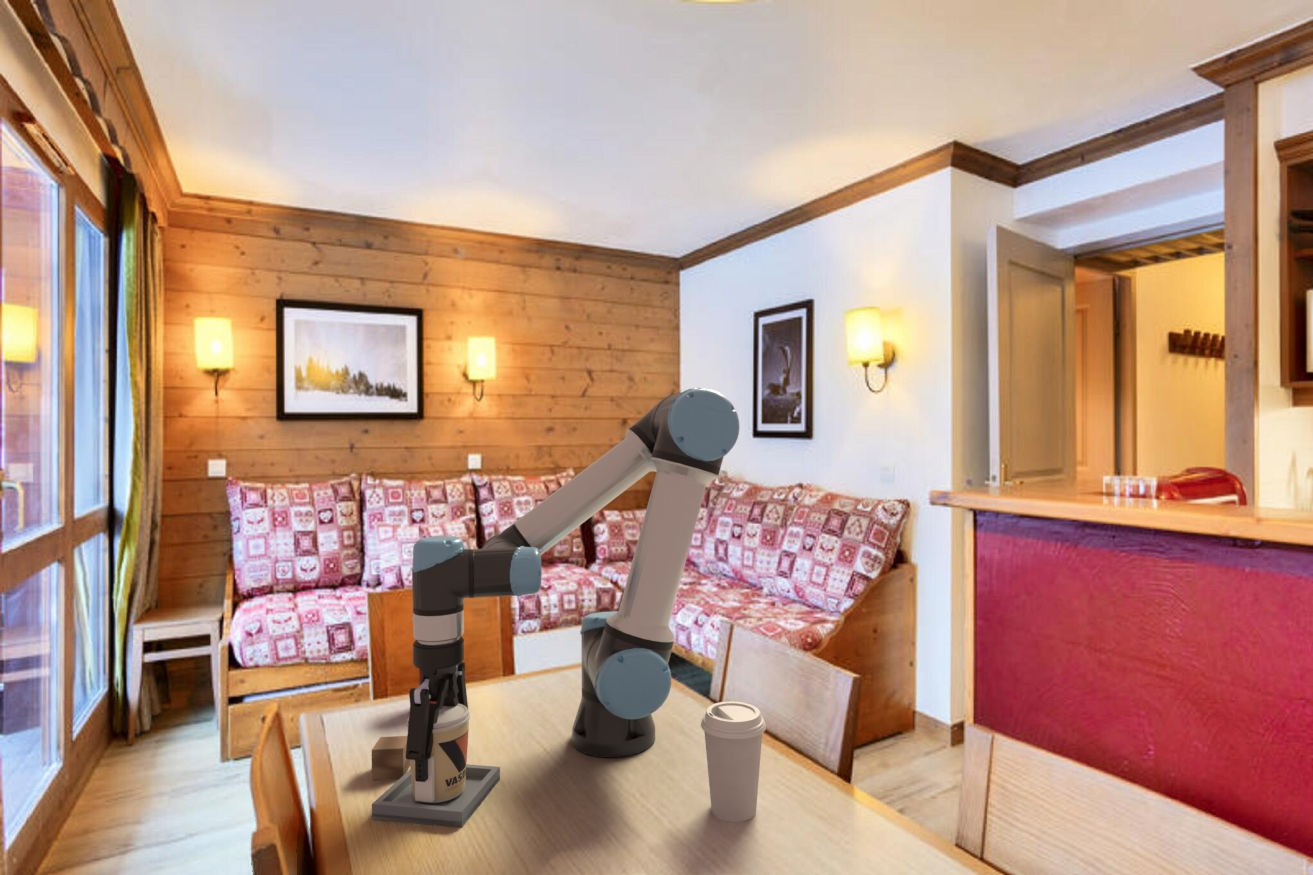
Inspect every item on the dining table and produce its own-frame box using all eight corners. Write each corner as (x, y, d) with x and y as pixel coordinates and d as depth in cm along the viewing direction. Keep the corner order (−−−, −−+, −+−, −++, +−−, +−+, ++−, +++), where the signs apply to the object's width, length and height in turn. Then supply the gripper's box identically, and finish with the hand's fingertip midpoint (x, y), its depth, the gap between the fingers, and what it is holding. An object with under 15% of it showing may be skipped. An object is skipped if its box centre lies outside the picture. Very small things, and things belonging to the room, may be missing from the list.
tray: (499, 780, 115) (499, 766, 115) (462, 827, 101) (461, 811, 101) (419, 773, 117) (419, 760, 117) (371, 818, 103) (371, 803, 103)
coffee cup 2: (700, 796, 109) (699, 699, 109) (762, 796, 109) (761, 699, 109) (702, 830, 100) (701, 724, 100) (770, 831, 99) (769, 724, 99)
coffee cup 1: (452, 809, 103) (451, 727, 103) (394, 803, 105) (393, 722, 105) (480, 778, 113) (480, 703, 113) (427, 773, 114) (426, 699, 114)
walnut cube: (410, 764, 121) (410, 735, 121) (403, 778, 116) (403, 748, 116) (380, 766, 120) (380, 736, 120) (371, 780, 115) (371, 749, 115)
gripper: (447, 619, 120) (448, 752, 120) (377, 658, 99) (378, 819, 99) (489, 621, 119) (490, 755, 119) (427, 660, 98) (428, 824, 98)
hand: (439, 784), depth 109 cm, fingers closed on coffee cup 1, 9 cm apart
